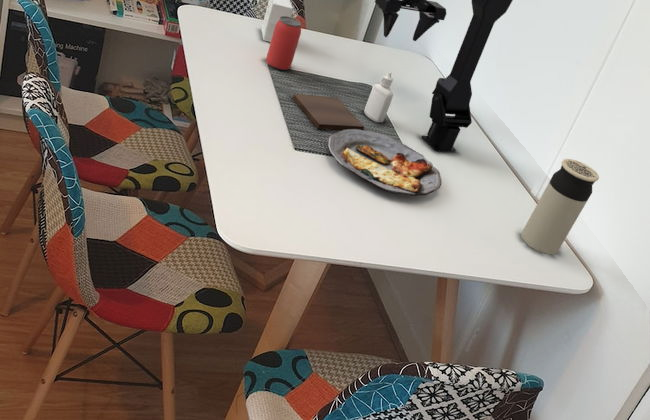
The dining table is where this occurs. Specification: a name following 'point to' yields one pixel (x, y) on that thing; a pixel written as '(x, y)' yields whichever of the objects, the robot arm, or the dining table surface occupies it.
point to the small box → (274, 16)
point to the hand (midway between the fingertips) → (399, 38)
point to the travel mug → (559, 206)
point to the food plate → (385, 162)
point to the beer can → (284, 43)
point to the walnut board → (327, 112)
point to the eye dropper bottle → (379, 99)
